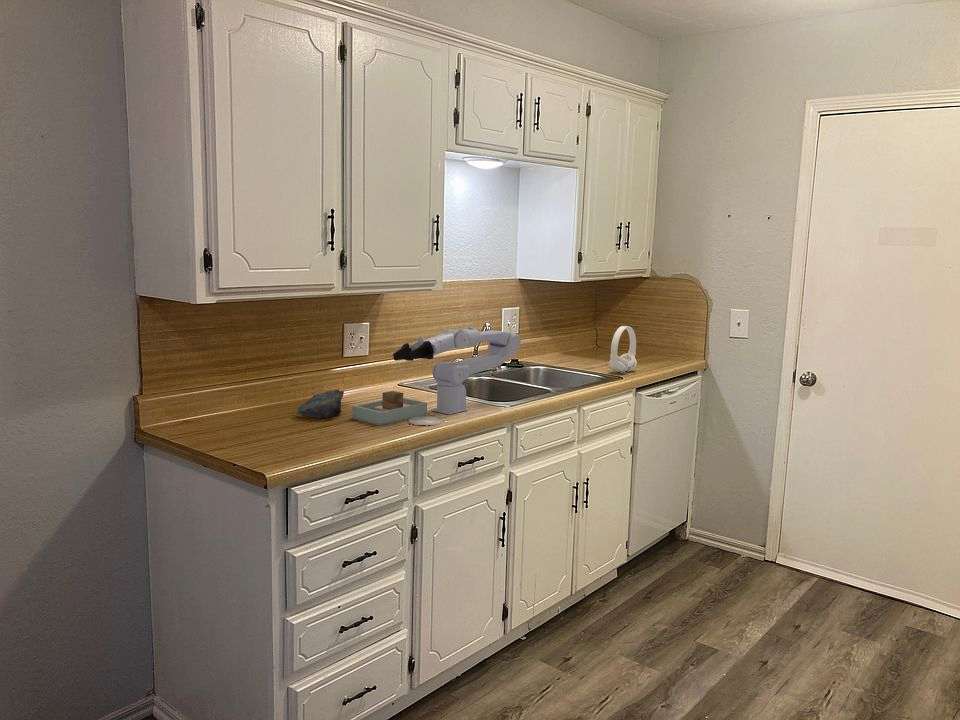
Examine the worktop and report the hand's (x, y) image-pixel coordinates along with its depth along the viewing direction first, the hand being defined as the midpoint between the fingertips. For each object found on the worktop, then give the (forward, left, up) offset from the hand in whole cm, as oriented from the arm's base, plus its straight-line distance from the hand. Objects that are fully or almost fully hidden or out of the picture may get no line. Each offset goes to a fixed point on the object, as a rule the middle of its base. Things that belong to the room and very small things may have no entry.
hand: (402, 356), depth 233 cm
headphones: (-131, +3, -20) cm, 132 cm away
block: (-2, -6, -17) cm, 18 cm away
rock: (+14, -20, -20) cm, 32 cm away
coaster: (-4, +6, -20) cm, 21 cm away
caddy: (-1, -6, -20) cm, 21 cm away
